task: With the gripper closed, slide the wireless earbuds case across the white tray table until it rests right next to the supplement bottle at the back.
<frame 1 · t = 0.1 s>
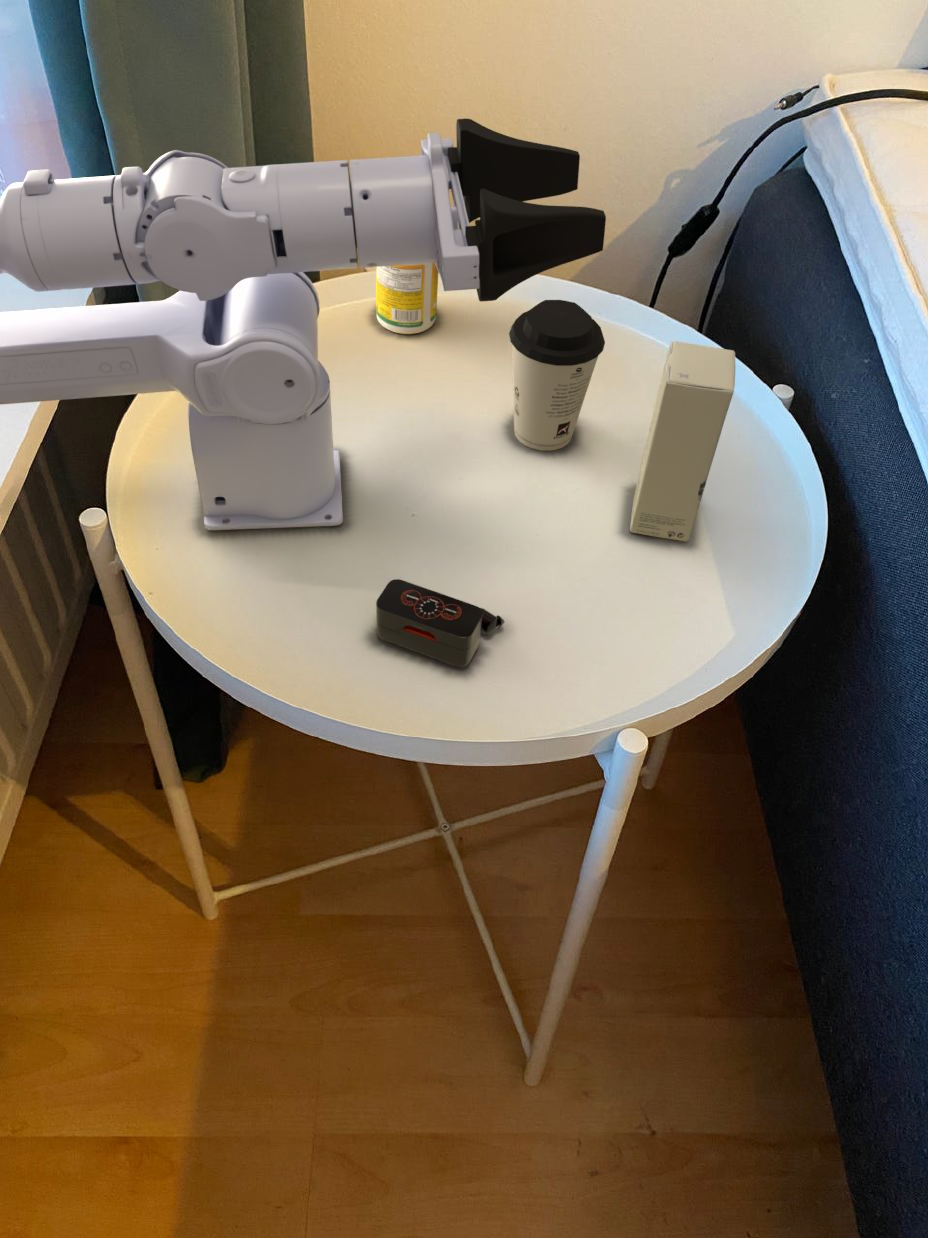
hand: (590, 199, 56), 22 cm above the table, tool horizontal, fingers open, 7 cm apart
box: (659, 517, 71), on the table
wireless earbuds: (443, 639, 62), on the table
supplement bottle: (406, 320, 86), on the table
coffee cup: (542, 434, 77), on the table
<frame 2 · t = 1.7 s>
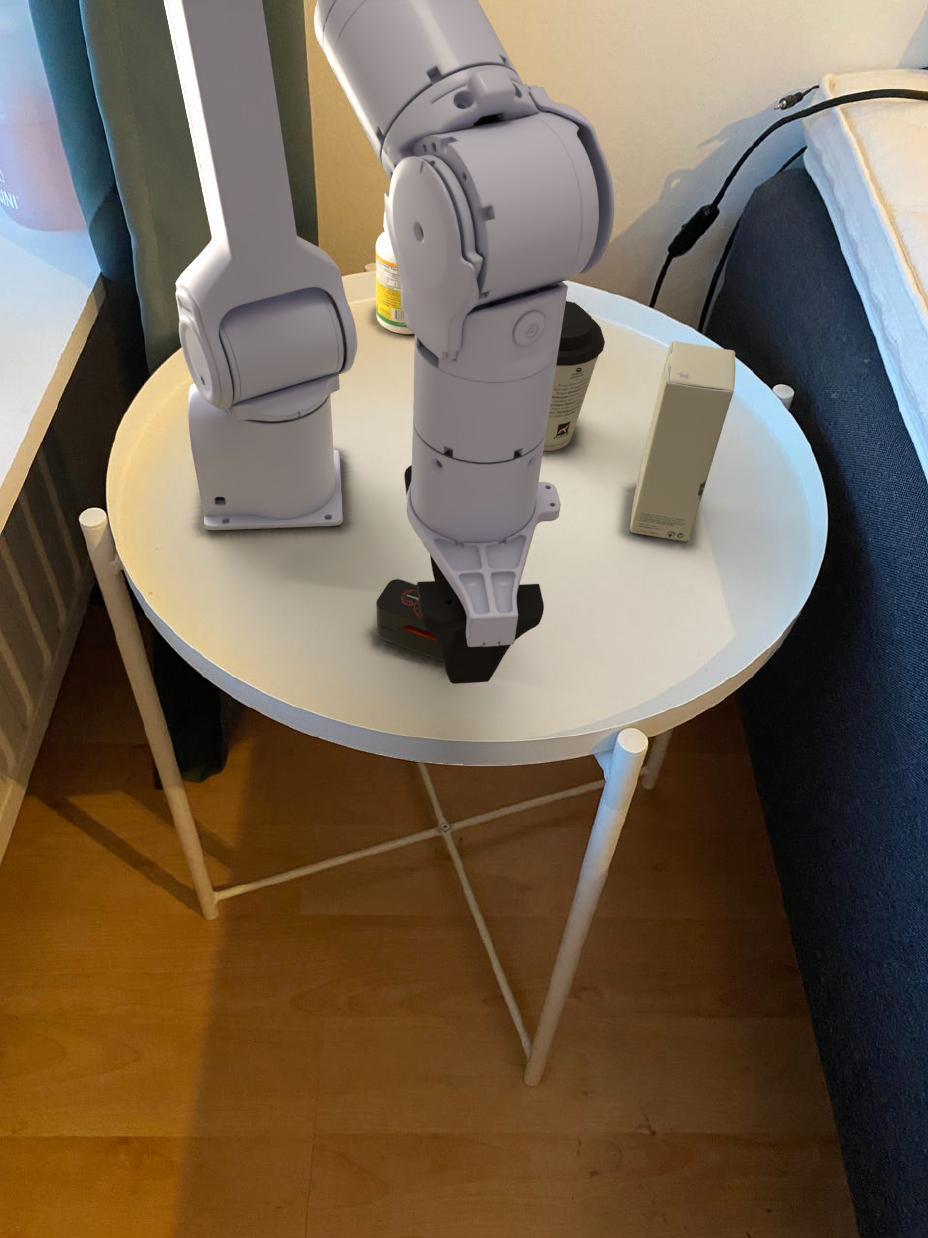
hand: (462, 629, 51), 8 cm above the table, tool pointing down, fingers open, 6 cm apart
nothing on the table moved.
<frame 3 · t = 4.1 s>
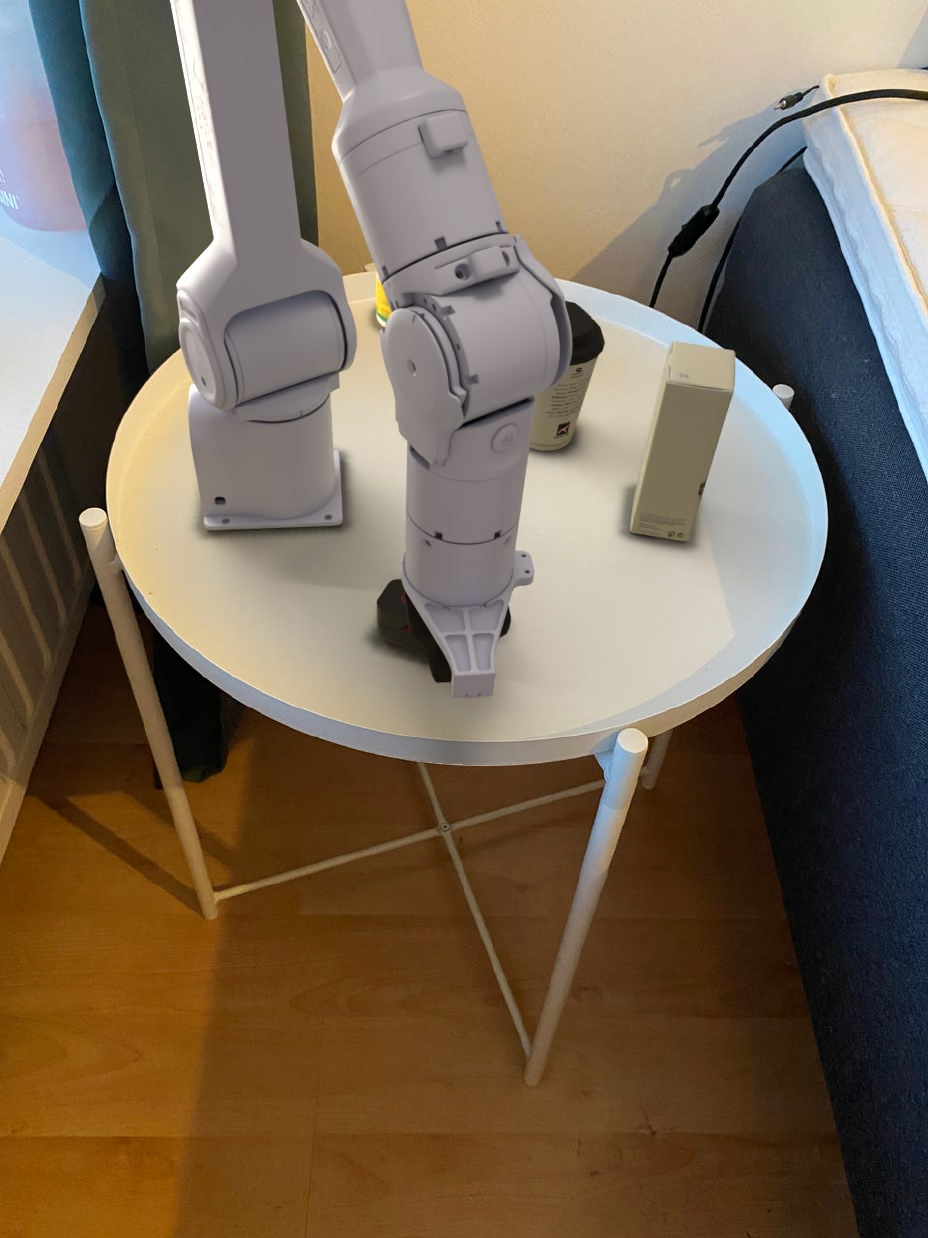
hand: (450, 673, 58), 1 cm above the table, tool pointing down, fingers closed
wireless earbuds: (443, 639, 62), on the table, touching gripper
everything else where it was.
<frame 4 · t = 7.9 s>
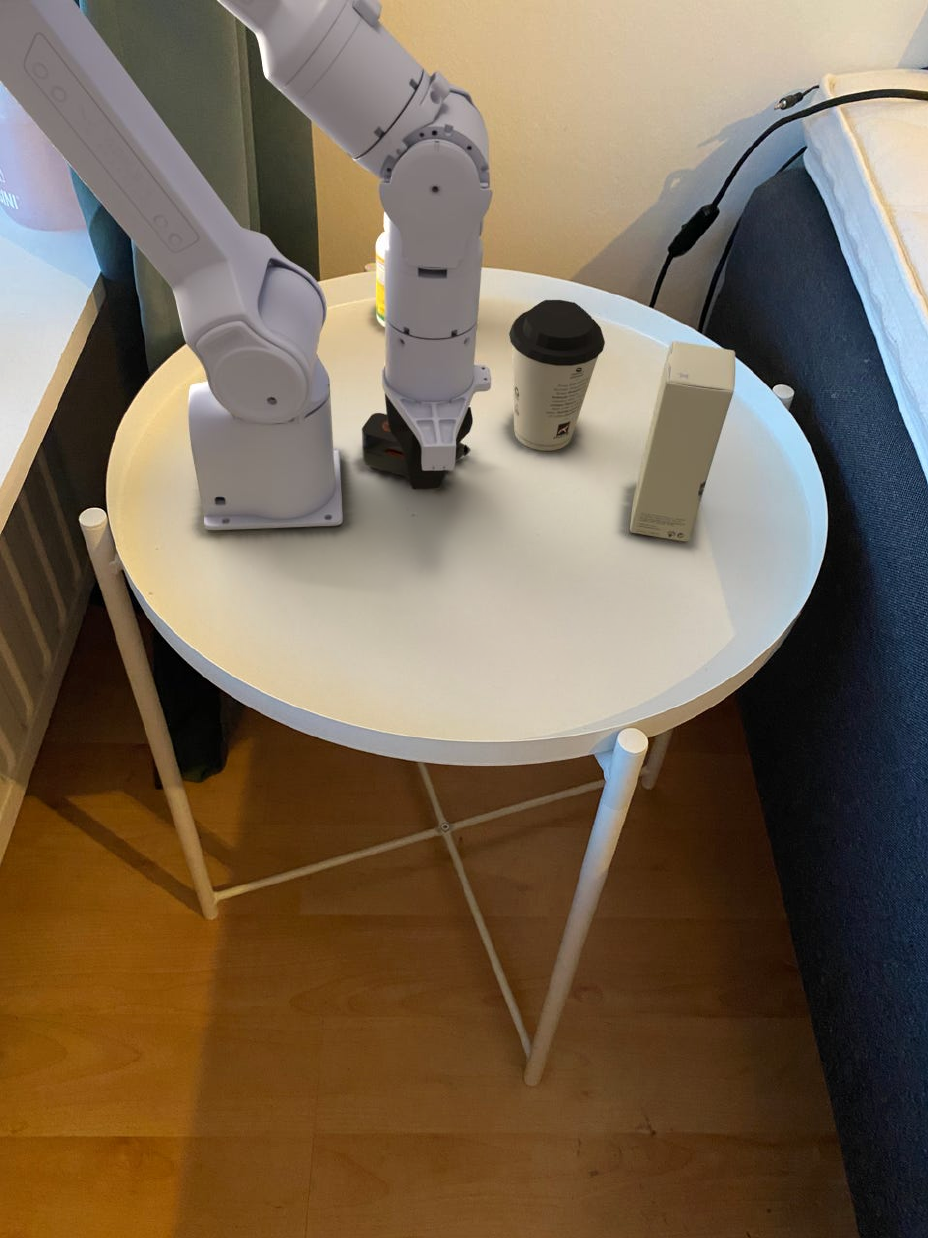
hand: (425, 483, 70), 1 cm above the table, tool pointing down, fingers closed
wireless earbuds: (419, 466, 73), on the table, touching gripper
everything else where it was.
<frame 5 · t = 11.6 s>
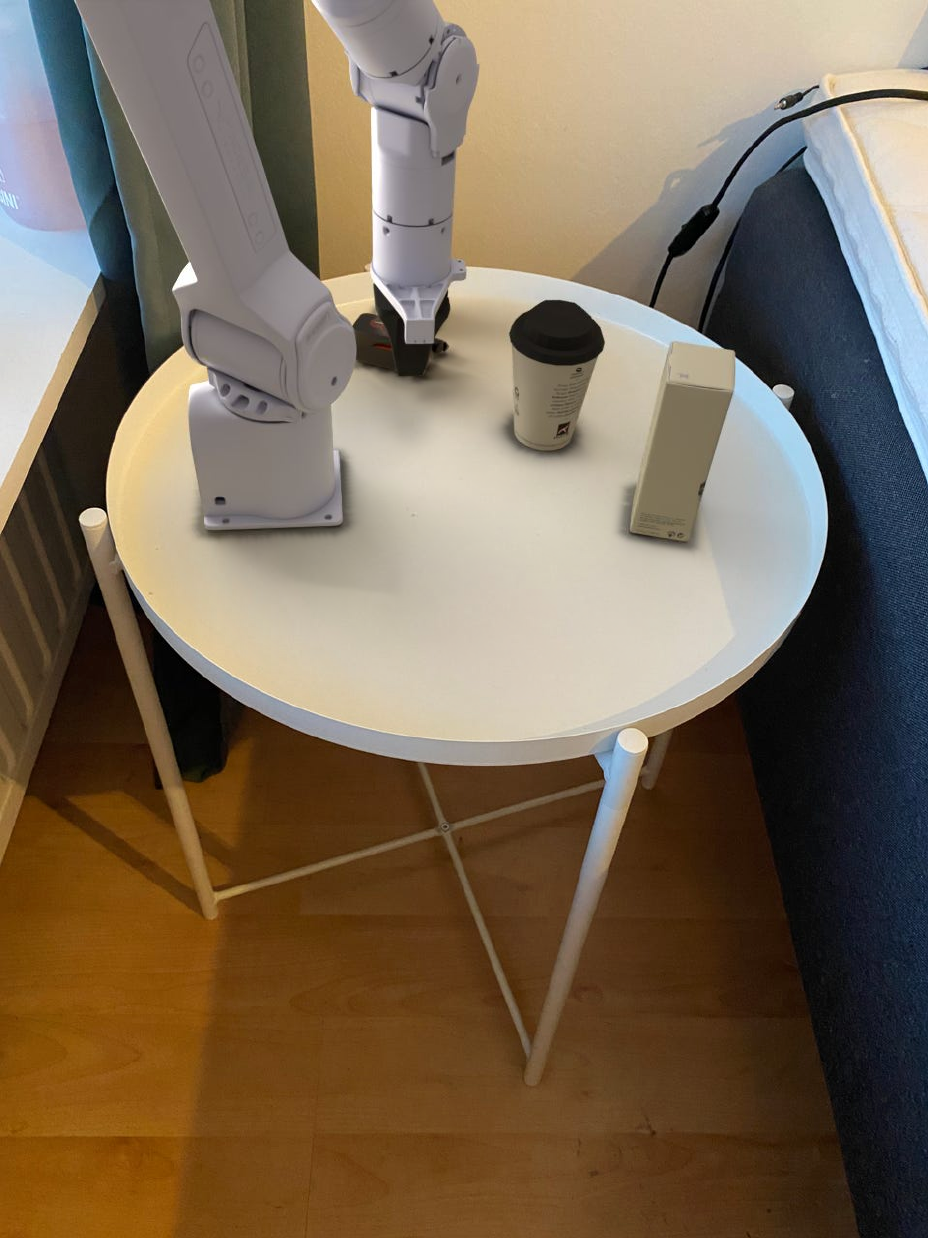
hand: (410, 371, 78), 1 cm above the table, tool pointing down, fingers closed
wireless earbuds: (403, 361, 82), on the table, touching gripper
everything else where it was.
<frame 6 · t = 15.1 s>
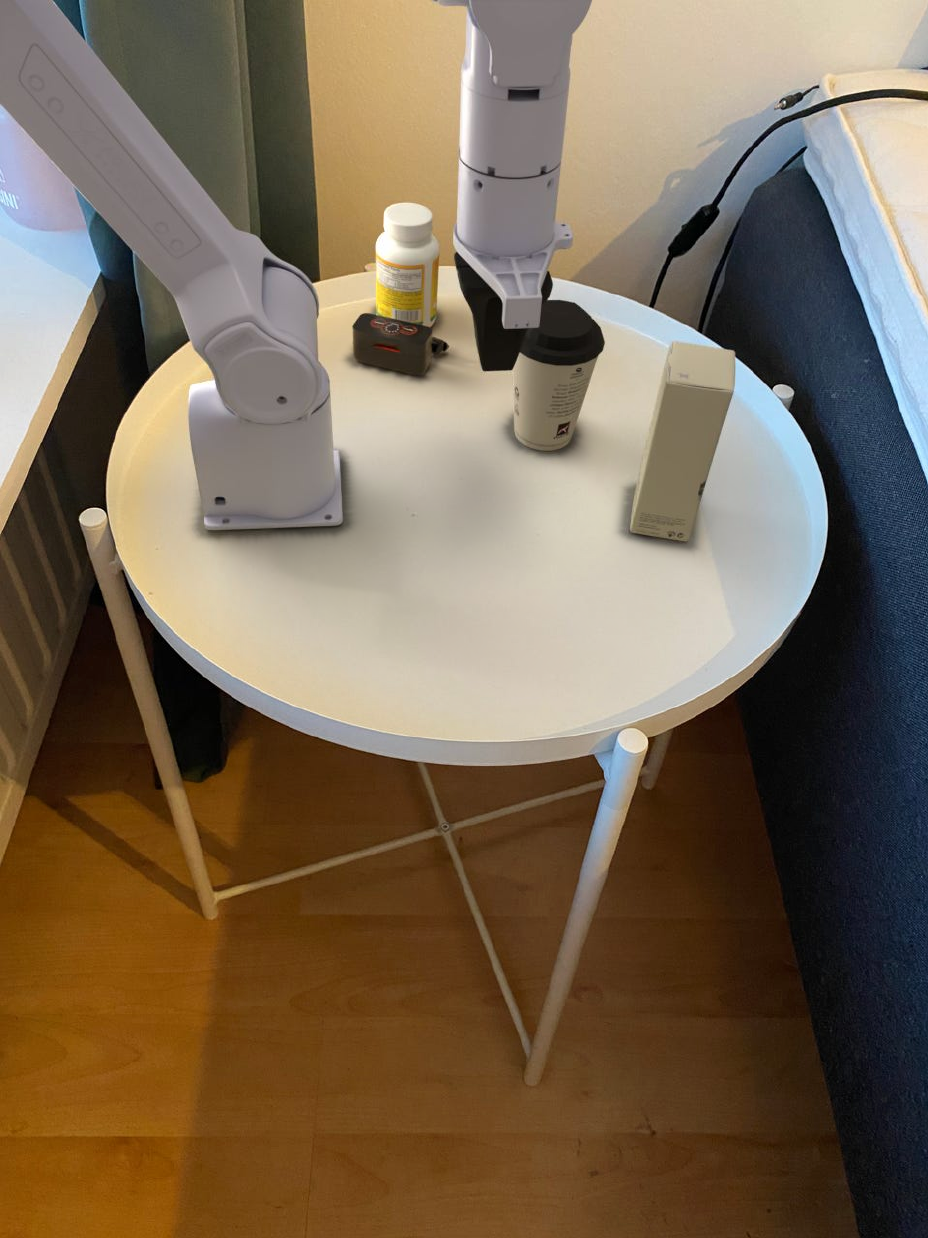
hand: (496, 364, 64), 10 cm above the table, tool pointing down, fingers closed
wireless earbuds: (403, 361, 82), on the table
everything else where it was.
at the end: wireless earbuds 6.3 cm from the supplement bottle (horizontally); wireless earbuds moved 30.8 cm from its start; supplement bottle tilted 0° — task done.
